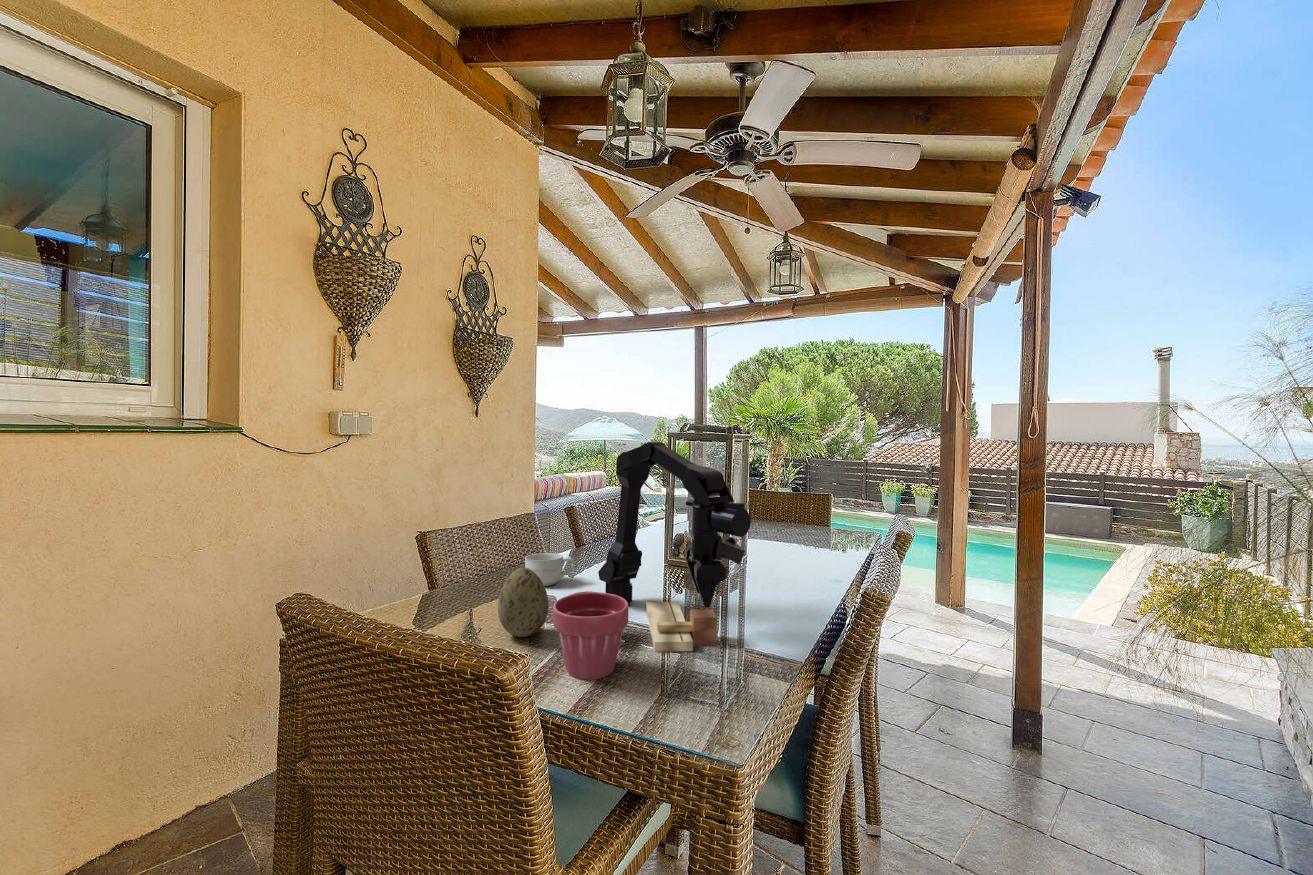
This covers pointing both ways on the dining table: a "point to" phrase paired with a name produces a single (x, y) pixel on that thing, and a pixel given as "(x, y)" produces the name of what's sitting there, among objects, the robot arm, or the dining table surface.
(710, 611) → the wooden mallet
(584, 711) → the dining table surface
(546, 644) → the dining table surface
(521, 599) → the decorative egg
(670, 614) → the board
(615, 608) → the plant pot
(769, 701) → the dining table surface
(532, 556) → the teacup
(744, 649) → the dining table surface
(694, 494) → the robot arm
